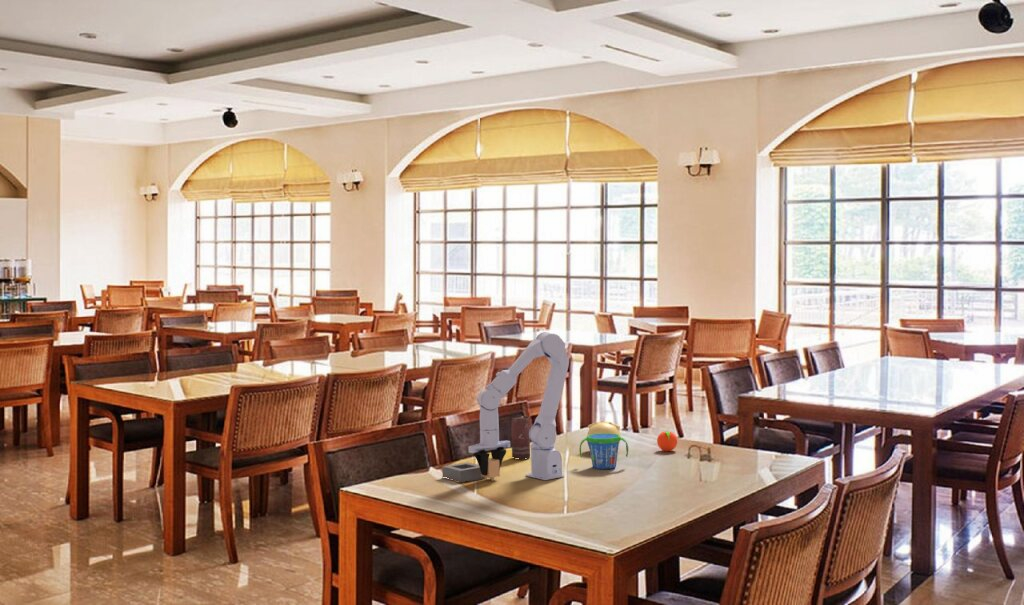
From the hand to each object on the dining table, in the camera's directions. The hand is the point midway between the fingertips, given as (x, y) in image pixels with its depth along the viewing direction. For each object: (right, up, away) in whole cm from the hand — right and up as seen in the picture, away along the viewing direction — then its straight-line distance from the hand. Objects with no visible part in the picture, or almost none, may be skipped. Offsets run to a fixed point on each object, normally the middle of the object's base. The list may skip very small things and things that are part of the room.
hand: (490, 473), depth 300 cm
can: (+10, -1, +35) cm, 36 cm away
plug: (0, -2, 0) cm, 2 cm away
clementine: (+60, 0, +42) cm, 73 cm away
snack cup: (+36, -1, +16) cm, 39 cm away
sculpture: (+38, 0, +43) cm, 58 cm away
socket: (-8, -2, +4) cm, 9 cm away
